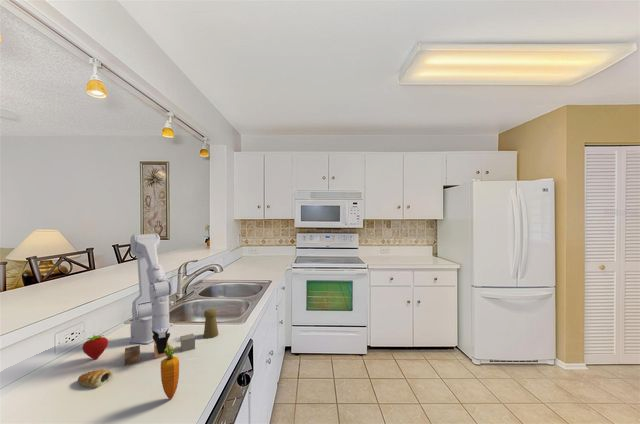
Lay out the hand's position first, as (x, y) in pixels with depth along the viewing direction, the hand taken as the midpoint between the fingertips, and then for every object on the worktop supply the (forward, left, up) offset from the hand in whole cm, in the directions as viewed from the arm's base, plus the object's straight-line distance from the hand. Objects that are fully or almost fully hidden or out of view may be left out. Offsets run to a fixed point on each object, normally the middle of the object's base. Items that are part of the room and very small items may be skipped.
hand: (161, 350), depth 110 cm
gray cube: (+6, +6, -2) cm, 9 cm away
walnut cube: (-6, -6, -2) cm, 9 cm away
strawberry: (-21, -8, -2) cm, 23 cm away
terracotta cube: (0, 0, -1) cm, 1 cm away
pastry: (-7, -20, -2) cm, 21 cm away
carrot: (+23, -22, -2) cm, 32 cm away
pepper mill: (+8, +19, -2) cm, 21 cm away
